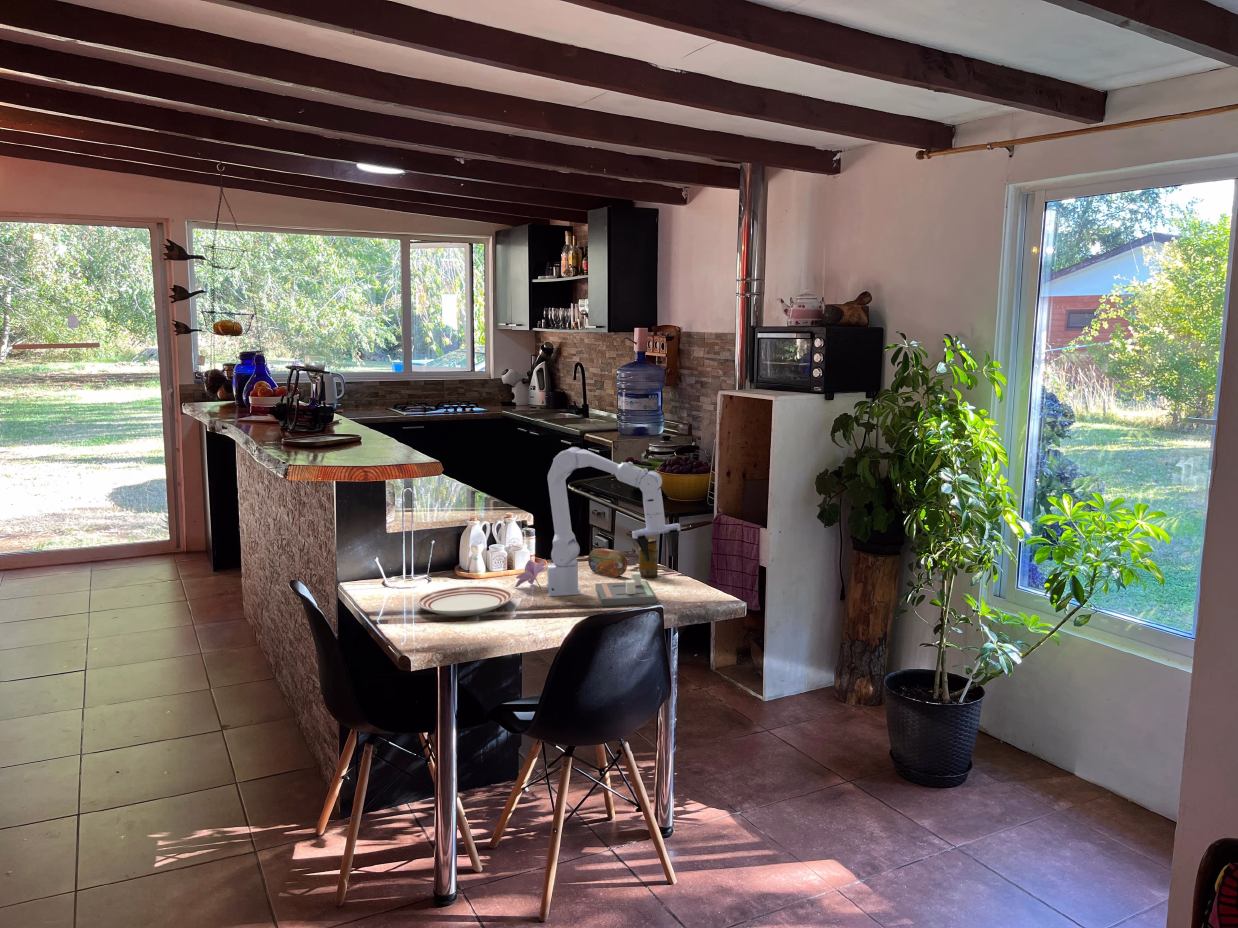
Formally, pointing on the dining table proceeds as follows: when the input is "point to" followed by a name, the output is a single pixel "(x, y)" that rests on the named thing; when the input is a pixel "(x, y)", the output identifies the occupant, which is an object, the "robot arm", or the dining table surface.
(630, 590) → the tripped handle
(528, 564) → the lily
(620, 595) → the grey board
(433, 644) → the dining table surface
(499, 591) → the dinner plate
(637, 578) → the handle
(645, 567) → the condiment
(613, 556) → the tin
